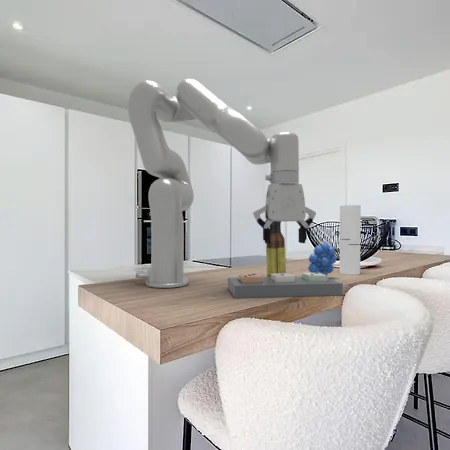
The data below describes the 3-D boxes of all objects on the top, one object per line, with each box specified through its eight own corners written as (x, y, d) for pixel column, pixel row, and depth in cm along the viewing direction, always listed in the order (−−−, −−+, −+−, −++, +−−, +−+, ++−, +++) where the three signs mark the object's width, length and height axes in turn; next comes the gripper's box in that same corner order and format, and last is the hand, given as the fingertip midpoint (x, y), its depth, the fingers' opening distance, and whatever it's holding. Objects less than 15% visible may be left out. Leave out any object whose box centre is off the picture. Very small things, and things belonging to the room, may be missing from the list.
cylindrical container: (342, 271, 123) (342, 206, 123) (362, 272, 119) (362, 206, 119) (337, 273, 117) (337, 205, 117) (357, 275, 113) (357, 205, 113)
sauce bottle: (285, 277, 108) (285, 218, 108) (286, 281, 102) (287, 218, 101) (265, 277, 108) (265, 218, 108) (266, 280, 102) (266, 218, 102)
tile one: (276, 288, 83) (276, 276, 83) (270, 284, 88) (270, 273, 88) (294, 287, 84) (294, 275, 83) (288, 284, 88) (288, 272, 88)
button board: (234, 298, 78) (234, 285, 78) (227, 288, 90) (227, 277, 90) (342, 295, 82) (342, 283, 82) (322, 286, 94) (322, 275, 94)
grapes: (326, 276, 112) (326, 241, 112) (341, 279, 106) (341, 242, 106) (300, 278, 106) (300, 242, 106) (314, 281, 100) (314, 243, 100)
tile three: (242, 288, 82) (242, 276, 82) (238, 285, 87) (238, 273, 87) (261, 288, 82) (261, 276, 82) (256, 284, 87) (256, 273, 87)
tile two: (309, 287, 84) (309, 275, 84) (302, 283, 89) (302, 272, 89) (327, 286, 85) (327, 275, 85) (319, 283, 90) (319, 272, 90)
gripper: (256, 177, 81) (256, 244, 81) (320, 178, 84) (321, 243, 84) (250, 181, 89) (250, 242, 89) (309, 182, 91) (309, 242, 91)
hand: (284, 243), depth 86 cm, fingers open, 9 cm apart
